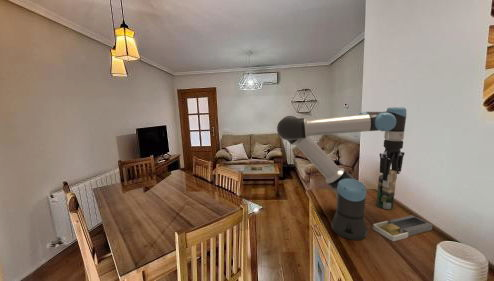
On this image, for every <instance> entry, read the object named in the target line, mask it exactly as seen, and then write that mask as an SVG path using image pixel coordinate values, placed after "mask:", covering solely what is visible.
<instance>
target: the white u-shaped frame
mask: <svg viewBox="0 0 494 281" xmlns="http://www.w3.org/2000/svg"><path fill="white" fill-rule="evenodd" d="M387 224H388V220H385V221H381V222H376V223H373V224H372V227H371V229H372V230H374V231H375V232H377V233H378V234H380V235H382V236H383V237H385V238H387V239H388V240H389V241H391V242H396V241H401V240H403V239H407V238H408V237H409V236H408V233H407V232H406V233H402V234H401V233H400V234H398V235H394V236H392V235H390V234H389V233H387V232H386V231H384V230H382V226H383V225H387Z"/></svg>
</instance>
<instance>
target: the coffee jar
mask: <svg viewBox="0 0 494 281" xmlns="http://www.w3.org/2000/svg"><path fill="white" fill-rule="evenodd" d="M377 183H378V184H377V190H376V191H377V193H376V205H377V207H378V208H380V209H383V210H393V208H394V199H395V198H394V197H395V195H394V196H393V197H387V196H385V195H382V189H383V186H382V185H383V173H381V175H380V174H379V176H378V181H377Z"/></svg>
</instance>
